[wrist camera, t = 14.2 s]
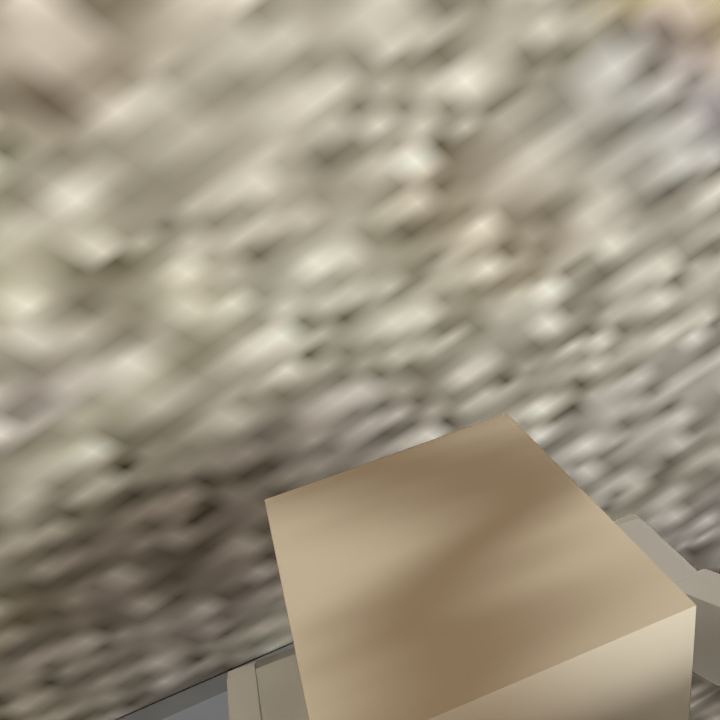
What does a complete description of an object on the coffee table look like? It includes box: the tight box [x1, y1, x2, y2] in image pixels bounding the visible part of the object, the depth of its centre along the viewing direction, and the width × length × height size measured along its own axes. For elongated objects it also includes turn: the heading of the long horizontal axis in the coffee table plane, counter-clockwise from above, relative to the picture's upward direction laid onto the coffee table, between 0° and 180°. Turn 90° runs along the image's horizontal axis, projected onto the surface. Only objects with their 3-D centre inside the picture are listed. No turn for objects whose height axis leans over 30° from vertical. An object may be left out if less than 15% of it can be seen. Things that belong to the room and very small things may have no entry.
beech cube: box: [265, 413, 696, 720], centre depth 11 cm, size 5×5×5 cm
